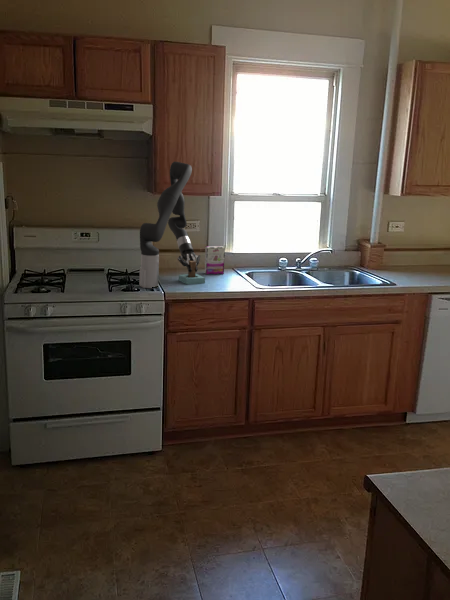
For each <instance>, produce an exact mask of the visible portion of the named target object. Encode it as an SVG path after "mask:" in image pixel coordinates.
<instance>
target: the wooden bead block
mask: <svg viewBox="0 0 450 600" xmlns="http://www.w3.org/2000/svg"><path fill="white" fill-rule="evenodd" d="M178 281H179V282H181V283H184V284H186V285H195V284H196V285H197V284H205V283H206V278H205V277H204V276H202V275H201V274H198V273H195V277H193V278H189V277H188V273H187V274H186V273H185V274H178Z"/></svg>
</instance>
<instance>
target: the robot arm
mask: <svg viewBox="0 0 450 600" xmlns="http://www.w3.org/2000/svg"><path fill="white" fill-rule="evenodd" d="M192 171H193V168H192V165H190V164H188V163H186V162H185V163H184V162H181V161H173V162H172V163H171V165H170V166H169V179H170V180H169V181H170V186H169V187H167V188H165V189H164V190H162V193H161V194H160V195H159V198H158V200H157V203H156V206H157V211H158V219H157V221H156V223H151V222H144V223H142V224H141V225H140V228H139V248H140V267H139V275H138V276H139V284H138V285H139V286H140V287H141V288H143V289H153V288H152V287H155V286H158V287H159V273H160V272H159V271H160V270H159V269H160V268H159V267H160V262H159V261H160V250H159V248H158V247H156V246H154V245H153V243H158V242H160V241H161V240H162V238H163V236H164V233H165V231H166V227H167V225H168V228H169V229H170V231H171V232H172V233H173V235H174V237H175V240H176V241H177V247H178V249H179V252H180V255H179V256H178V257H177V261H178V263H180V264H181V265H182V266H183V267H186V269H187V272H188V271H189V272H191V271H192V269H191V266H190V263H189V261H196V267H195V272H196V273H197V272H198V271H199V268H198V266H199V264H200V260H201V255H197V254H196V253H195V251H194V248H193V244H192V241H191V239H190V236H189V235H188V232H187V230H186V229H185V228H186V227H187V223H188V222H187V218H186V213H185V197H184V194H183V190H184V188H185V186H186V185H187V183H188V181H189V180H190V177H191V175H192ZM172 214H174V215H176V216H173V217H171V215H172ZM152 242H153V243H152Z"/></svg>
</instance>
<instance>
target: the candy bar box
mask: <svg viewBox="0 0 450 600" xmlns="http://www.w3.org/2000/svg"><path fill="white" fill-rule="evenodd" d="M204 248H205V249H204V250H205V253H204V274H205V275H224V274H225V259H226V258H225V256H226V255H225V253H226V252H225V251H226V247H225V246H223V245H222V246H220V245H214V246H209V245H207V246H205V247H204Z"/></svg>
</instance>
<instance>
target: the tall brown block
mask: <svg viewBox="0 0 450 600" xmlns="http://www.w3.org/2000/svg"><path fill="white" fill-rule="evenodd" d="M189 263H190V266H191V269H192V271H191V272H189V271H188V270H187V274H188V277H189V278H193V277H195V274H197V272H195V267H196V260H195V261H189Z"/></svg>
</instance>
